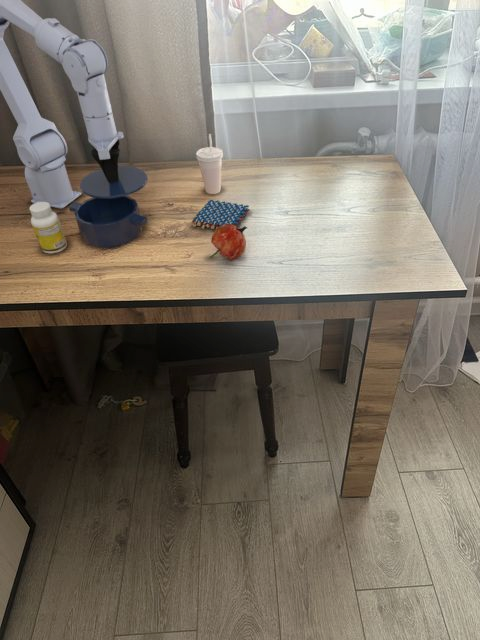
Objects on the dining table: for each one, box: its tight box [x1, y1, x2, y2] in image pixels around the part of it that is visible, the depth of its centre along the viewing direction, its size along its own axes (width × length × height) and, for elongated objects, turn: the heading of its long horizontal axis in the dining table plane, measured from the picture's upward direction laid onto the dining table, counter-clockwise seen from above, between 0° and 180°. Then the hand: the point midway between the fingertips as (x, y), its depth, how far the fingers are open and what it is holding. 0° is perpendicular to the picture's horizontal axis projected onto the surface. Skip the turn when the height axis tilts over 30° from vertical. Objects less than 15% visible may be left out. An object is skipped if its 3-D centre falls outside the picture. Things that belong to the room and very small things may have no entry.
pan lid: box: [79, 165, 149, 199], centre depth 109 cm, size 14×14×4 cm
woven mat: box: [191, 199, 250, 230], centre depth 115 cm, size 10×11×2 cm
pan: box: [68, 195, 148, 248], centre depth 112 cm, size 13×19×6 cm
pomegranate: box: [209, 224, 248, 261], centre depth 103 cm, size 7×7×10 cm
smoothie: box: [195, 133, 224, 195], centre depth 121 cm, size 6×6×14 cm
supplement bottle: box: [29, 202, 68, 254], centre depth 106 cm, size 5×5×10 cm
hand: (113, 178), depth 109 cm, fingers closed on pan lid, 2 cm apart
